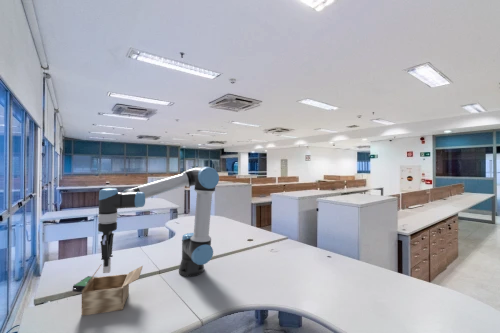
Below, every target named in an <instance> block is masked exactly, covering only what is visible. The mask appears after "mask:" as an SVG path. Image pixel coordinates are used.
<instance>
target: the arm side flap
mask: <svg viewBox="0 0 500 333" xmlns="http://www.w3.org/2000/svg"><path fill="white" fill-rule="evenodd" d="M143 266H144V265H141V266H139V267H137V268H136V269H133V270H131V271H130V272H128V273H127V274H128V276H127V278H126V281H125V283H124V285H123V287H124V286H126V285H128V284H129V285H130V284H132V283H133V282H136V281H137V280H139V279H140V277H141V276H140V275H141V274H142V270H143Z"/></svg>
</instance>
